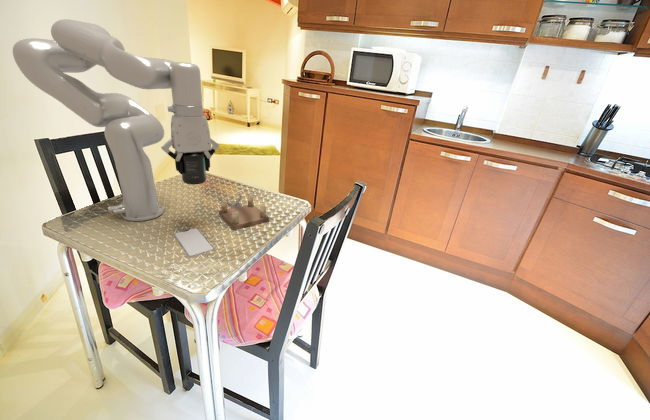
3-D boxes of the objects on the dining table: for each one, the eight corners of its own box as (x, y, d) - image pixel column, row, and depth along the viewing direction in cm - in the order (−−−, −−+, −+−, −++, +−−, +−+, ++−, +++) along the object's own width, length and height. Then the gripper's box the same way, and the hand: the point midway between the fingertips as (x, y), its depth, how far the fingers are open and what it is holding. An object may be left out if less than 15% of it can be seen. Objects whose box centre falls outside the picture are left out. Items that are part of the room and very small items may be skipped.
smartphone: (188, 257, 80) (172, 233, 90) (189, 259, 81) (172, 235, 91) (215, 249, 85) (197, 227, 95) (215, 251, 85) (197, 229, 95)
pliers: (236, 190, 125) (259, 207, 112) (236, 192, 125) (259, 209, 112) (213, 194, 119) (235, 213, 106) (214, 196, 119) (235, 215, 106)
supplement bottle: (211, 180, 93) (208, 143, 88) (194, 186, 88) (191, 147, 82) (194, 175, 96) (191, 139, 90) (177, 181, 90) (173, 142, 85)
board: (233, 230, 96) (232, 215, 93) (218, 214, 105) (217, 200, 102) (269, 221, 103) (269, 207, 101) (252, 207, 112) (252, 194, 110)
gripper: (157, 113, 75) (165, 178, 82) (223, 113, 85) (226, 171, 93) (150, 108, 80) (159, 170, 88) (214, 109, 90) (217, 165, 98)
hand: (193, 170), depth 90 cm, fingers closed on supplement bottle, 6 cm apart
